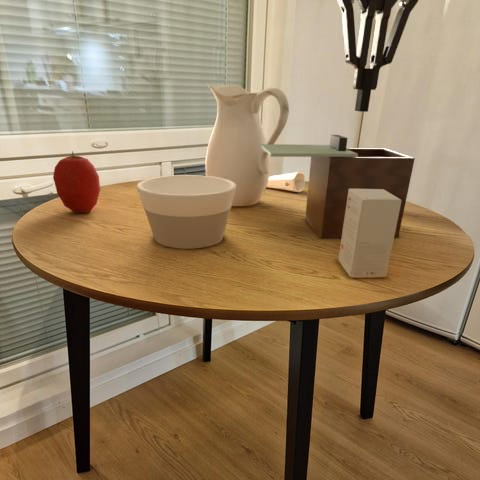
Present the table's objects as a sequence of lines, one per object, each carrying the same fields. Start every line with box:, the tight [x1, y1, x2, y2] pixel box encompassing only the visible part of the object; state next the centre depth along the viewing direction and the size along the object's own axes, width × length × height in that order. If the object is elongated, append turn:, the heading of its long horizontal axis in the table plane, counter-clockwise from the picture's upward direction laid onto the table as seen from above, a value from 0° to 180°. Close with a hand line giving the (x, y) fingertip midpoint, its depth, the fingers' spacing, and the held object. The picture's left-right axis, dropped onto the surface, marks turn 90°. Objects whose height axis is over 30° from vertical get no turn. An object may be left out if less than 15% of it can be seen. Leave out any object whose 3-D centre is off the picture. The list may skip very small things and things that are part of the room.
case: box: [304, 147, 416, 239], centre depth 92 cm, size 17×14×16 cm
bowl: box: [136, 174, 236, 250], centre depth 85 cm, size 19×19×11 cm
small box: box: [337, 189, 402, 279], centre depth 71 cm, size 8×6×13 cm
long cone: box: [266, 171, 306, 193], centre depth 131 cm, size 6×6×19 cm
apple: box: [52, 150, 101, 214], centre depth 100 cm, size 10×10×14 cm
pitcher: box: [204, 83, 290, 207], centre depth 106 cm, size 24×17×28 cm
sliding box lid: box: [261, 134, 358, 158], centre depth 86 cm, size 17×13×3 cm
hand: (361, 110), depth 75 cm, fingers closed
